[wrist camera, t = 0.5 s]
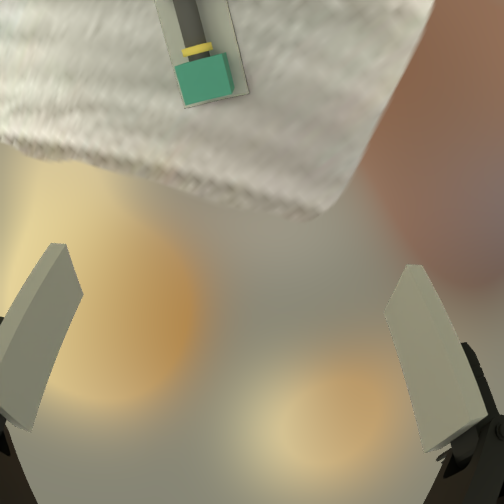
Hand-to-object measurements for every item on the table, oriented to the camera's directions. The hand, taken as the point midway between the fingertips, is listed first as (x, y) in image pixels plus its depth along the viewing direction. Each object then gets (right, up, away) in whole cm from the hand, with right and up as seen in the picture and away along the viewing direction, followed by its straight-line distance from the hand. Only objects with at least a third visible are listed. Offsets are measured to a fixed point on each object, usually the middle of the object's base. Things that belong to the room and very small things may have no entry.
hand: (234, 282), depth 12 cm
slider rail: (-5, +25, +14) cm, 29 cm away
